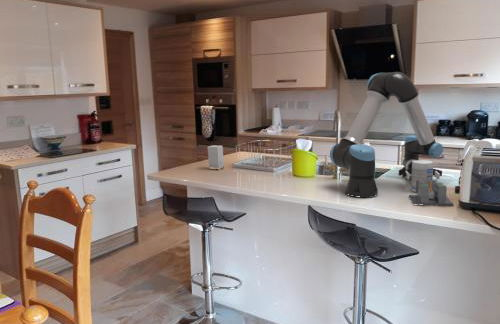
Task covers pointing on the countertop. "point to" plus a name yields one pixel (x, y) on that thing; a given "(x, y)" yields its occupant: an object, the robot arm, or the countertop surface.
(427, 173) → the supplement tub
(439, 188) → the grey notched block
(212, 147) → the skincare box
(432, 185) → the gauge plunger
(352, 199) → the countertop surface
